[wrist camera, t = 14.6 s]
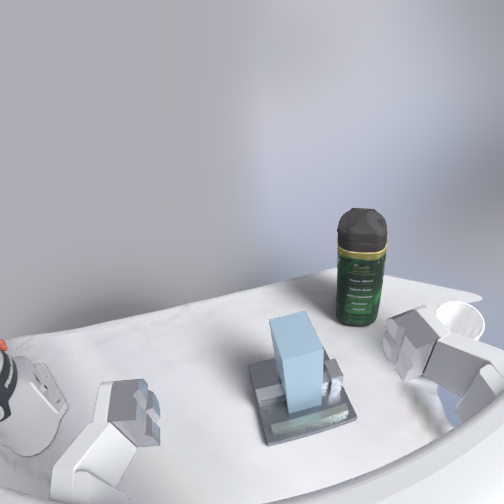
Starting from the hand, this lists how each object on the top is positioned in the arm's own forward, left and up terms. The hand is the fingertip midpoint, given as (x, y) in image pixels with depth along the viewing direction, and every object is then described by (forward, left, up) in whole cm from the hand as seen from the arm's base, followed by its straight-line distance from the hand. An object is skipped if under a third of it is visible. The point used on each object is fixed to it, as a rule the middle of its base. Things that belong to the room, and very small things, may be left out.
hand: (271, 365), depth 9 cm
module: (-12, +13, -29) cm, 34 cm away
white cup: (+3, +30, -30) cm, 42 cm away
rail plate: (-12, +13, -30) cm, 35 cm away
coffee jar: (-16, +33, -30) cm, 47 cm away
